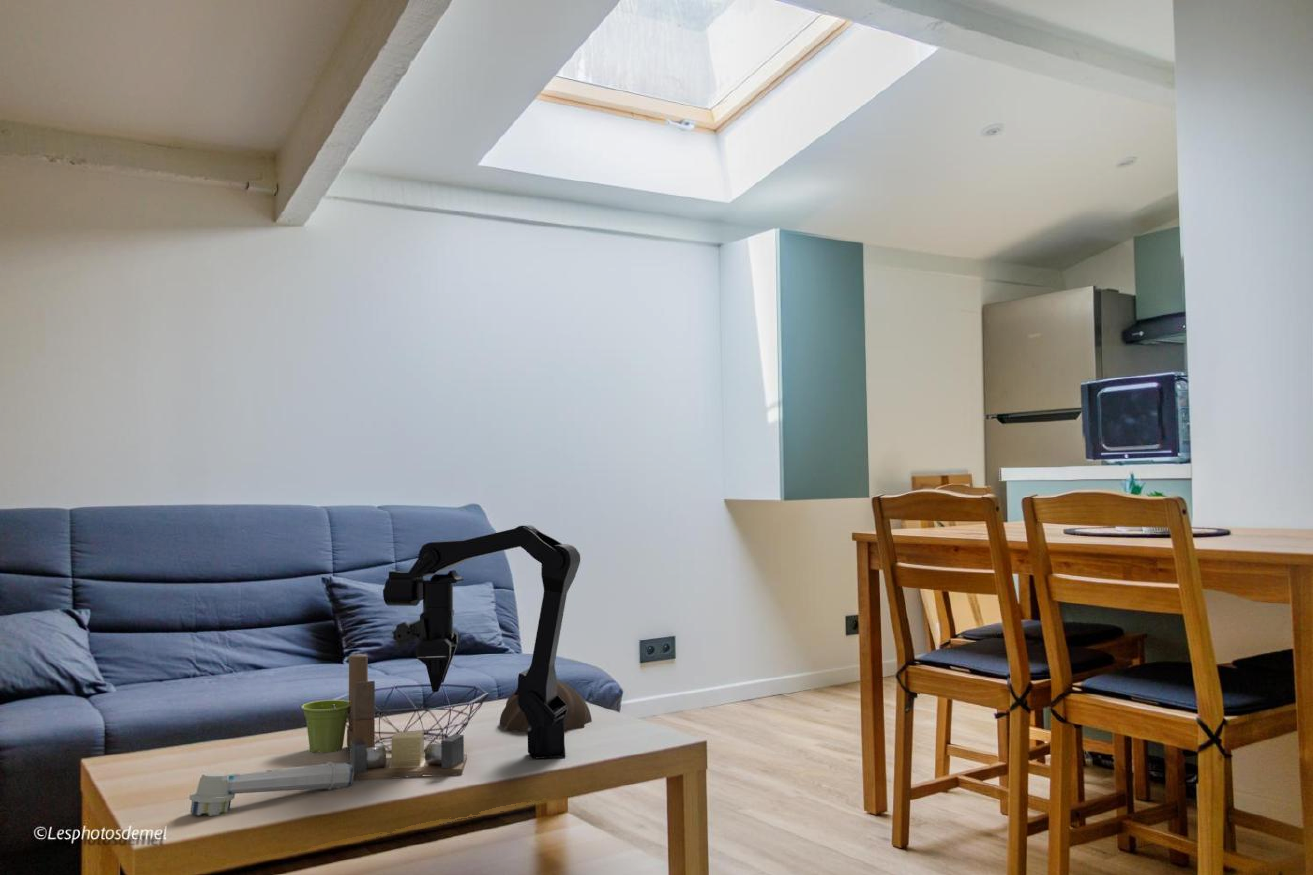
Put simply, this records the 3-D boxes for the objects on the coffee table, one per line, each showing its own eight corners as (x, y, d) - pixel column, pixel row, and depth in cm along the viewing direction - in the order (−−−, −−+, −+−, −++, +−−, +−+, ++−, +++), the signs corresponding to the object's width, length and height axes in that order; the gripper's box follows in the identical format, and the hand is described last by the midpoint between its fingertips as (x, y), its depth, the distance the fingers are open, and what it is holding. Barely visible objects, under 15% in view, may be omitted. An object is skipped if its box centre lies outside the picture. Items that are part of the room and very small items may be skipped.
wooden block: (355, 759, 180) (355, 662, 182) (346, 746, 190) (346, 654, 191) (375, 756, 182) (375, 660, 183) (365, 744, 192) (365, 652, 193)
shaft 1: (381, 763, 173) (381, 736, 174) (386, 769, 169) (386, 741, 169) (350, 767, 171) (350, 740, 171) (354, 774, 167) (354, 745, 167)
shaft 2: (423, 767, 170) (423, 740, 170) (435, 760, 174) (435, 733, 175) (452, 769, 168) (451, 741, 169) (463, 762, 173) (463, 734, 173)
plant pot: (344, 741, 195) (345, 697, 195) (357, 750, 187) (357, 705, 187) (296, 748, 190) (296, 703, 190) (307, 758, 182) (307, 711, 182)
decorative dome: (551, 739, 194) (550, 688, 195) (480, 727, 205) (480, 680, 206) (609, 720, 210) (608, 674, 211) (540, 710, 221) (540, 666, 222)
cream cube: (423, 758, 176) (423, 730, 176) (420, 765, 171) (420, 737, 171) (395, 759, 175) (395, 731, 176) (391, 767, 170) (391, 738, 171)
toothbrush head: (356, 764, 163) (200, 771, 147) (351, 805, 162) (192, 817, 146) (344, 758, 167) (191, 765, 151) (339, 798, 166) (184, 809, 150)
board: (466, 759, 179) (466, 753, 179) (461, 774, 169) (461, 768, 169) (355, 764, 176) (355, 759, 176) (344, 780, 166) (344, 774, 166)
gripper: (402, 602, 196) (402, 680, 195) (387, 612, 177) (387, 698, 176) (458, 600, 197) (458, 678, 196) (449, 610, 179) (449, 696, 178)
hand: (438, 687), depth 187 cm, fingers open, 9 cm apart
